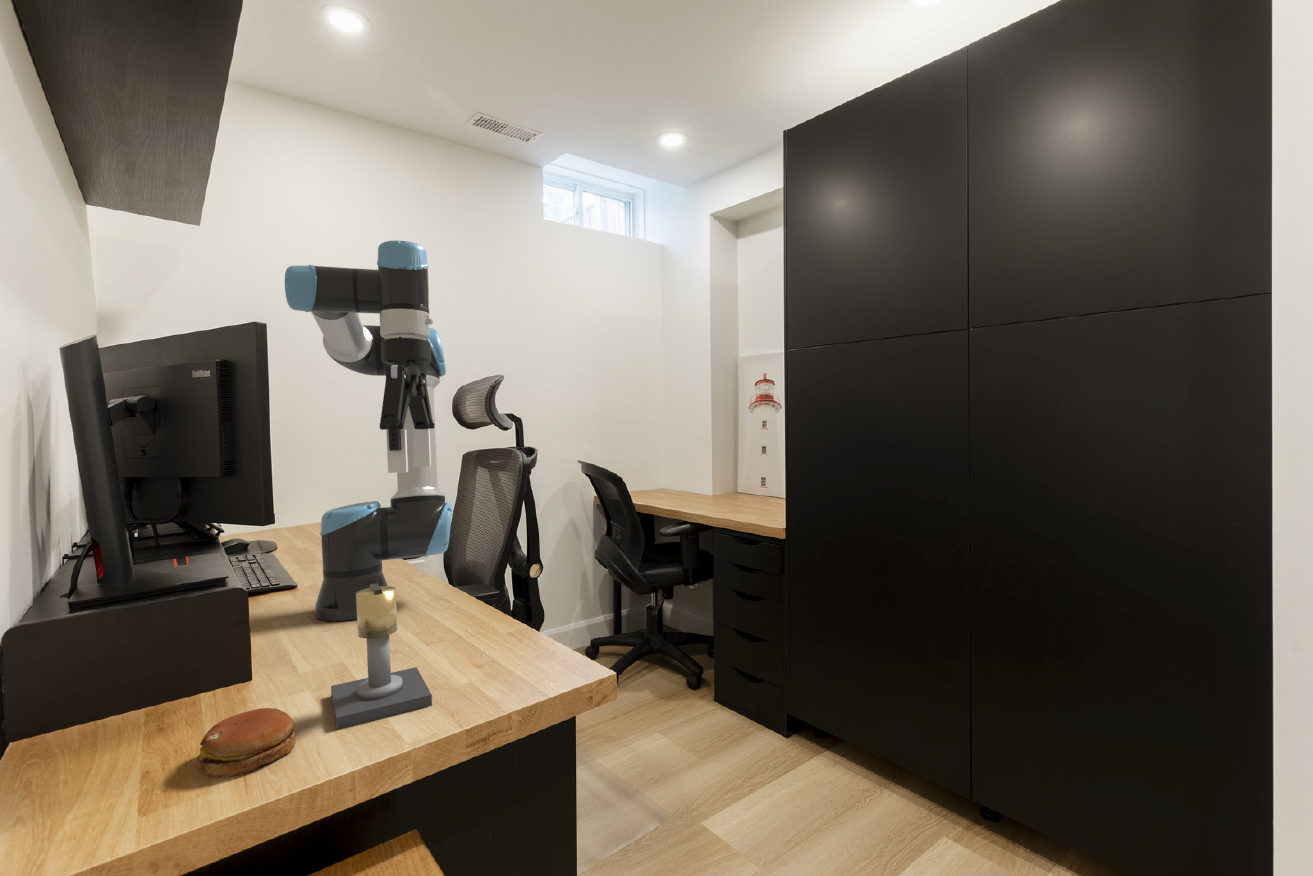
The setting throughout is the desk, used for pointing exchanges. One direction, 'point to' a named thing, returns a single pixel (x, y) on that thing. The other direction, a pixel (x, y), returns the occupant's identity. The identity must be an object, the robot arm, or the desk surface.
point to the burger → (246, 742)
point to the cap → (376, 611)
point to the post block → (379, 689)
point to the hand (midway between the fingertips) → (411, 469)
